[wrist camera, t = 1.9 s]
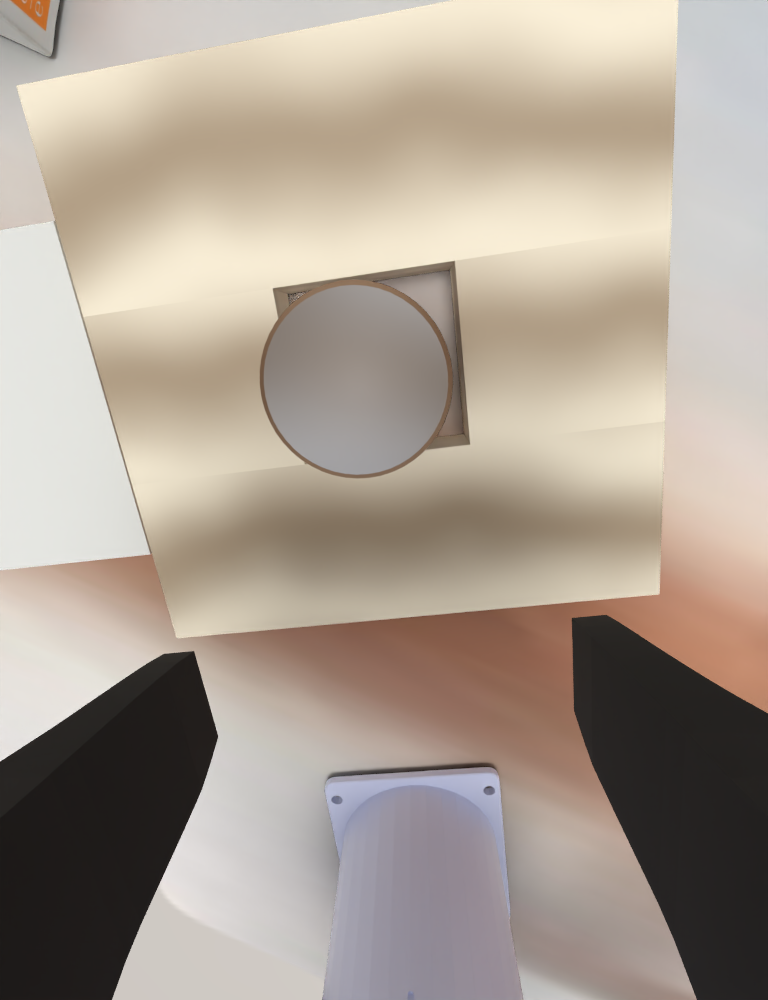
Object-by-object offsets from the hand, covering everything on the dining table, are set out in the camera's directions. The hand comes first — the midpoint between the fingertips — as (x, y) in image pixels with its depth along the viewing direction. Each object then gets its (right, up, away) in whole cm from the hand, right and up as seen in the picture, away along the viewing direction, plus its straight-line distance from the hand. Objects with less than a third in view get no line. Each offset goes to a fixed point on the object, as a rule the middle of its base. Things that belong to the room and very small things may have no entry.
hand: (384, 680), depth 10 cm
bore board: (0, +8, +8) cm, 12 cm away
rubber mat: (-14, +7, +10) cm, 18 cm away
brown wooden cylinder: (0, +8, +8) cm, 12 cm away
